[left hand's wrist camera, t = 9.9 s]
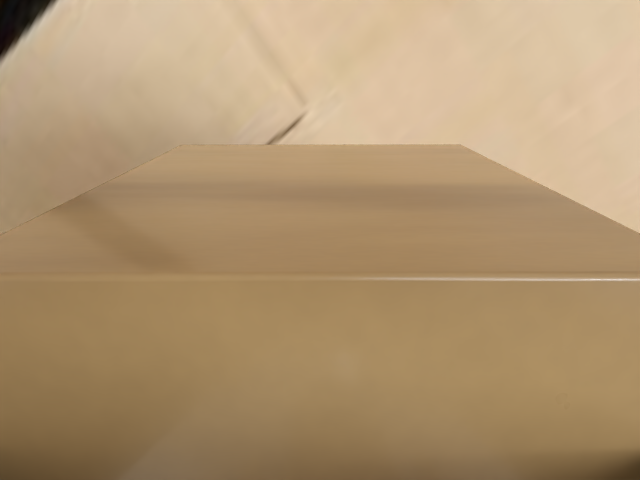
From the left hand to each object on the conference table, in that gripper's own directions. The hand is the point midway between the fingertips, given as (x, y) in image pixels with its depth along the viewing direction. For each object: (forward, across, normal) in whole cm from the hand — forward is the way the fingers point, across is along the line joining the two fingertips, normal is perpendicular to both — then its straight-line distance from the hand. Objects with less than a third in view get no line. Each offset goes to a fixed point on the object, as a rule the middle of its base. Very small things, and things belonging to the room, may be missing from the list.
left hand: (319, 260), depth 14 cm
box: (+1, 0, -9) cm, 9 cm away
